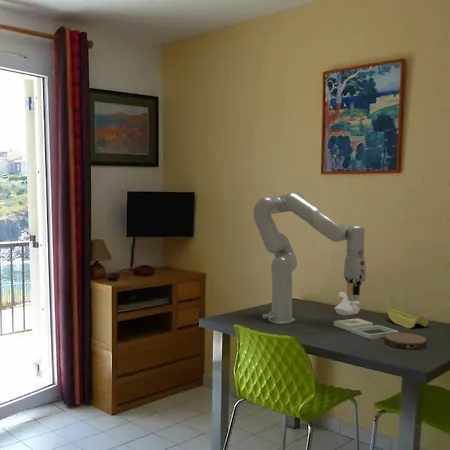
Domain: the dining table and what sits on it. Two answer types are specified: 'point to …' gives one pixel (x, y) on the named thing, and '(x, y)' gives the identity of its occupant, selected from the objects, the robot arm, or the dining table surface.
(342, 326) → the block
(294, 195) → the robot arm
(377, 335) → the tray
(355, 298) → the tan rectangular block
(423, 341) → the wood slice coaster
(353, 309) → the white faceted figurine
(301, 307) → the dining table surface
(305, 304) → the dining table surface
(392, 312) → the plastic component
